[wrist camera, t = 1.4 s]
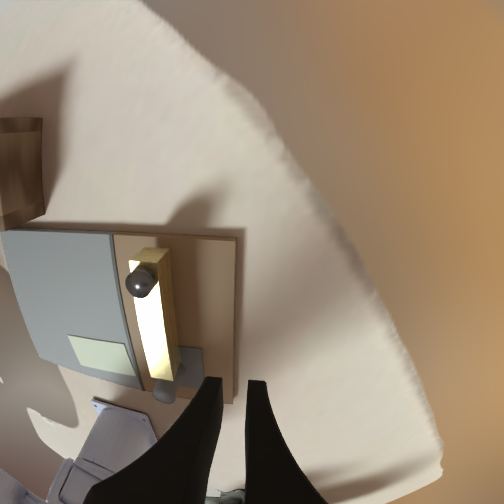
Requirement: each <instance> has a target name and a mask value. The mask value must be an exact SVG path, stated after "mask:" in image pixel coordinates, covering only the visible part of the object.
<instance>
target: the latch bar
mask: <svg viewBox="0 0 504 504" xmlns="http://www.w3.org/2000/svg"><path fill="white" fill-rule="evenodd" d="M129 265H130V272H131V273H130V274H129V275H128V276H127V277H126V280H125V285H126V288H127V290H128V292H129V293H130V294H131V295H132V296H134V299H135V305H136V311H137V316H138V322H139V327H140V332H141V336H142V341H143V346H144V350H145V354H146V359H147V363H148V367H149V371H150V375H151V377H154V378H159V379H164V380H170V381H174V378H175V376H176V373H177V370H178V368H179V365H180V362H181V356H180V348H179V341H178V333H177V324H176V315H175V306H174V295H173V284H172V271H171V256H170V248H155V247H144V248H143V249H142V250H141V251H139V252H138V253H137V254H136V255H135V256H134V257H132V258H131V259H130V260H129Z"/></svg>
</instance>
